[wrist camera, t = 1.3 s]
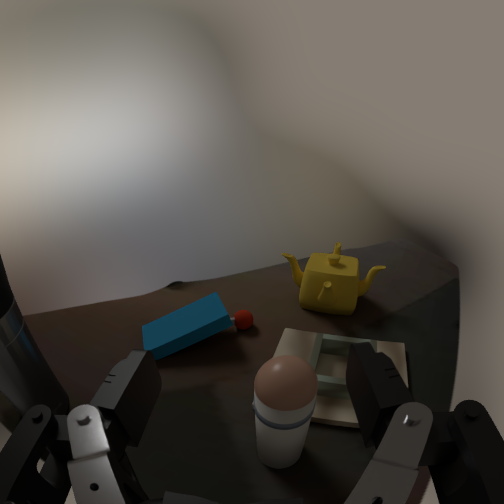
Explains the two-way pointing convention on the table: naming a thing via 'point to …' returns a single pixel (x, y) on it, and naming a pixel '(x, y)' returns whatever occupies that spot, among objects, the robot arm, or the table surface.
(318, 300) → the teapot
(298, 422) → the brown-capped white canister
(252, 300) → the table surface
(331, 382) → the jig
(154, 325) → the lever
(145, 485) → the table surface
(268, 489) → the table surface
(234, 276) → the table surface
